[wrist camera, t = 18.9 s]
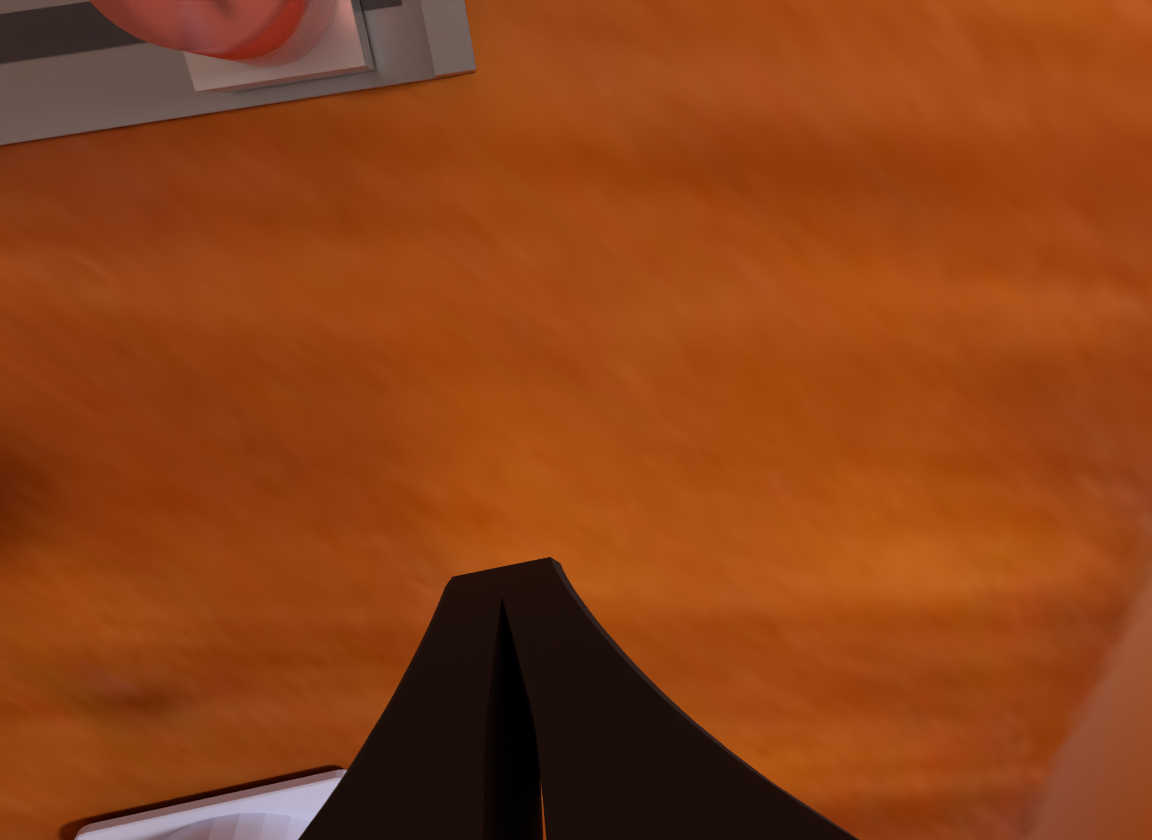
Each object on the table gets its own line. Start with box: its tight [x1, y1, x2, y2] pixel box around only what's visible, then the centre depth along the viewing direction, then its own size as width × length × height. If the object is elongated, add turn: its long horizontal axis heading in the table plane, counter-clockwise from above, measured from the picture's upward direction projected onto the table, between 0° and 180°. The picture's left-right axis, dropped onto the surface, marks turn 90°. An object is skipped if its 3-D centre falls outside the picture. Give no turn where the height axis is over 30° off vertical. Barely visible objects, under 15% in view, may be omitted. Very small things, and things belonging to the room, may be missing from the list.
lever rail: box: [0, 0, 476, 146], centre depth 15 cm, size 4×14×2 cm, turn 98°
